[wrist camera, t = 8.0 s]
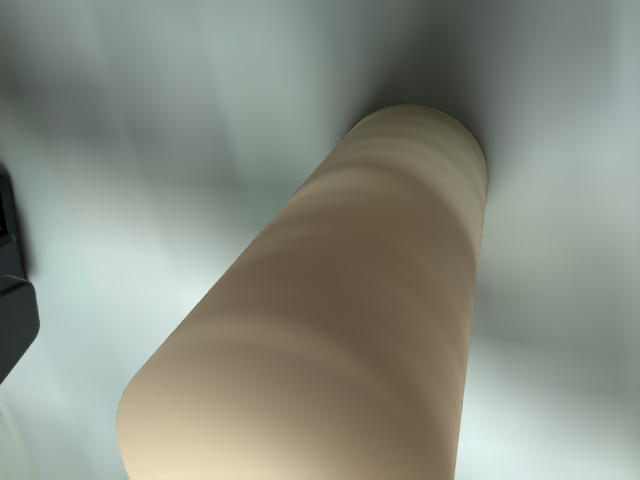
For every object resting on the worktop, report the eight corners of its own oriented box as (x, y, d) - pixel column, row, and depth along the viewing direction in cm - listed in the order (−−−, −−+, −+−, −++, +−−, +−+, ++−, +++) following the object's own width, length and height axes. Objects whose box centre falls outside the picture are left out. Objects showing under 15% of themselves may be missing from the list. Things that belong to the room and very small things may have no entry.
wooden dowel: (326, 228, 16) (124, 534, 8) (345, 90, 14) (106, 299, 6) (466, 263, 16) (408, 644, 7) (506, 121, 14) (493, 414, 5)
